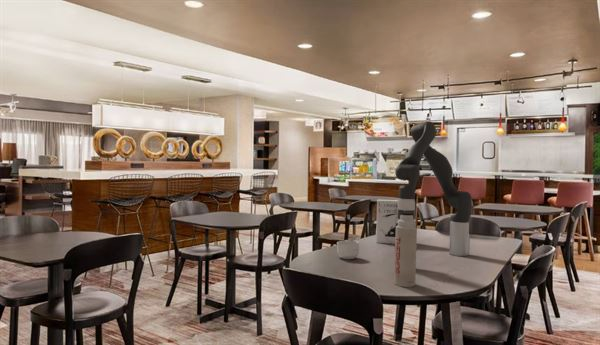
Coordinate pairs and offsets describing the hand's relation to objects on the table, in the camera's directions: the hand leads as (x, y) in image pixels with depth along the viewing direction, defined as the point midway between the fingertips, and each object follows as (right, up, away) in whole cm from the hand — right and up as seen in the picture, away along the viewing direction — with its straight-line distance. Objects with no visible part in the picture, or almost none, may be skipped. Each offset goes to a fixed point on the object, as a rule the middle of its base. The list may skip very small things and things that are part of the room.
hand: (405, 245), depth 206 cm
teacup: (-24, -9, +18) cm, 31 cm away
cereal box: (+8, -9, +63) cm, 64 cm away
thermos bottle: (-7, -11, -29) cm, 32 cm away
